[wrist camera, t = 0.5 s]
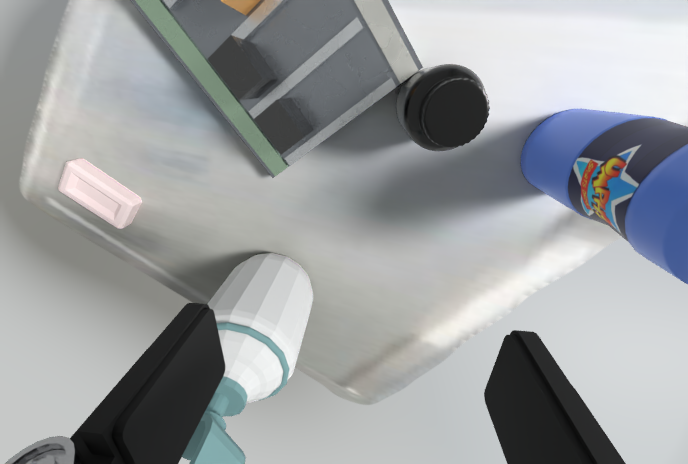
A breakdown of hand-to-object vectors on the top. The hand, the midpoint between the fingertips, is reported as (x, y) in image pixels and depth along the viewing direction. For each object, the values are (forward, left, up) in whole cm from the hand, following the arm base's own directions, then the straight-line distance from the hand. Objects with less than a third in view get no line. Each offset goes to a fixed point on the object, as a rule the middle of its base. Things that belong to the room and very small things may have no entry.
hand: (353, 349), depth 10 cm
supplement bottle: (-9, -1, -29) cm, 30 cm away
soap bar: (+32, -16, -29) cm, 47 cm away
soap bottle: (+21, +8, -29) cm, 37 cm away
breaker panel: (0, -17, -29) cm, 33 cm away
